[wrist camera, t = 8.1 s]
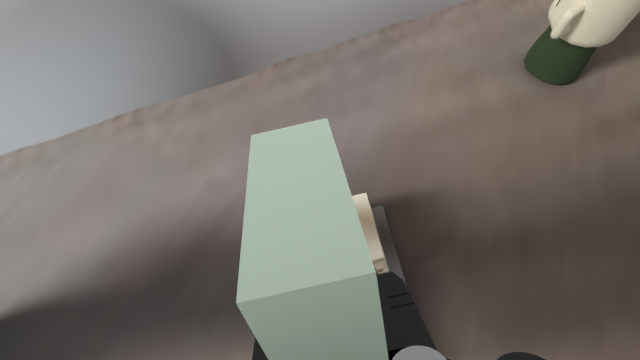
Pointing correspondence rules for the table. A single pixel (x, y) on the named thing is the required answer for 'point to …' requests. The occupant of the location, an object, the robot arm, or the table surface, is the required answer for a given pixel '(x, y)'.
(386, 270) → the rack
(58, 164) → the table surface
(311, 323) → the slat
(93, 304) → the table surface
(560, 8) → the character mug
